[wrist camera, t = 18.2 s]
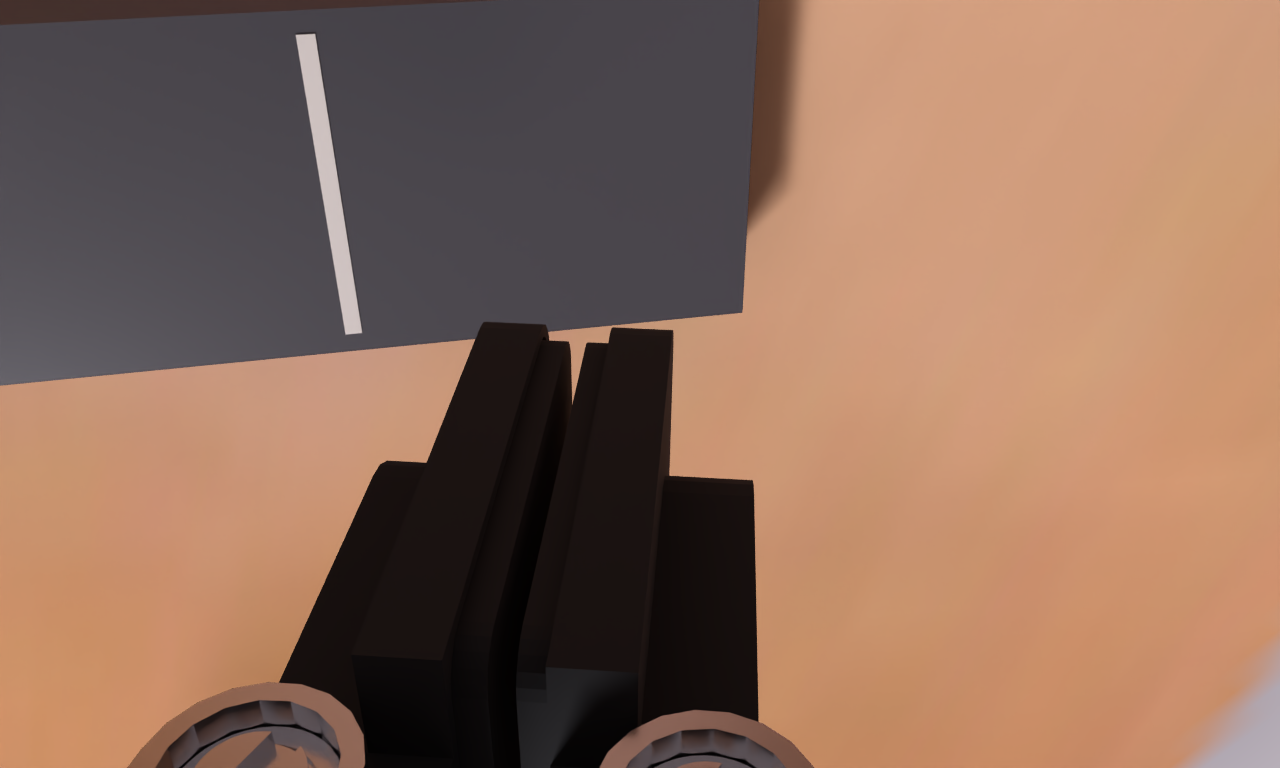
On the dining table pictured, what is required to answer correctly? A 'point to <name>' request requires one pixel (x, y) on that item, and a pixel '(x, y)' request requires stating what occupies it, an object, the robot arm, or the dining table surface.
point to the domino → (361, 173)
